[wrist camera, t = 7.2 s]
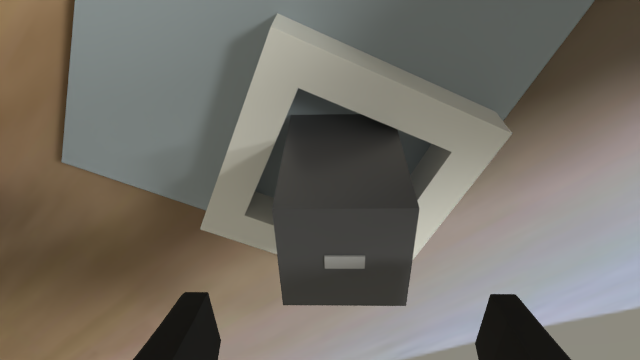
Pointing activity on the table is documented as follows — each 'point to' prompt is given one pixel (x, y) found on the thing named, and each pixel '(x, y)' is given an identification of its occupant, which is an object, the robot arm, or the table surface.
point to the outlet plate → (297, 92)
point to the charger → (344, 213)
